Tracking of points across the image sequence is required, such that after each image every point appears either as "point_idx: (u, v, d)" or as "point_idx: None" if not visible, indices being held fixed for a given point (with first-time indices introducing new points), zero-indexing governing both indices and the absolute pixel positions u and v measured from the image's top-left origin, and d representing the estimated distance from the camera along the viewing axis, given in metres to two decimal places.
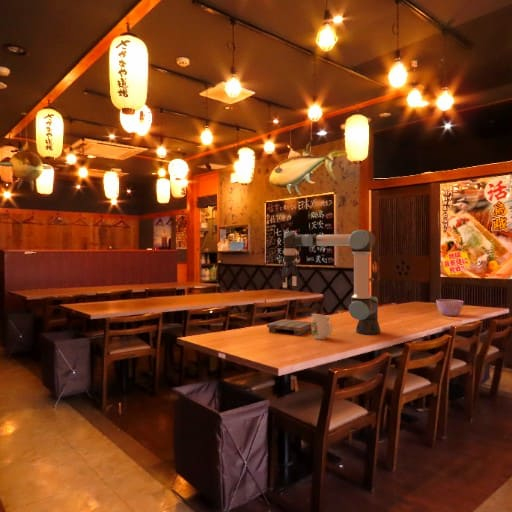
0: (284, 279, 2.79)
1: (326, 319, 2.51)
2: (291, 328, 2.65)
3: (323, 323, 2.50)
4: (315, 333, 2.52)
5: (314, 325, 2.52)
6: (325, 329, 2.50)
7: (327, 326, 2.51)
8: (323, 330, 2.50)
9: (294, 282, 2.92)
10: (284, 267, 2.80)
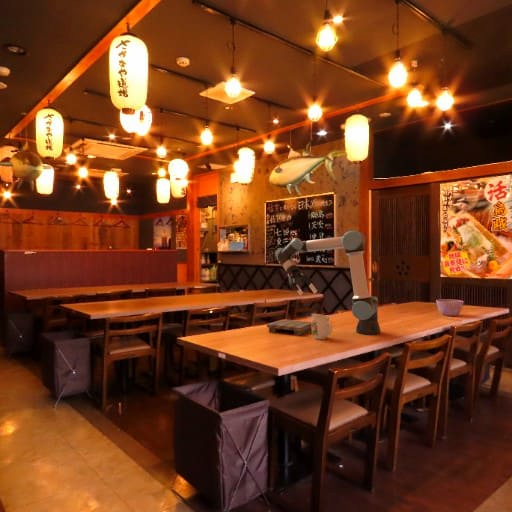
0: (295, 286, 2.63)
1: (326, 319, 2.51)
2: (291, 328, 2.65)
3: (323, 323, 2.50)
4: (315, 333, 2.52)
5: (314, 325, 2.52)
6: (325, 329, 2.50)
7: (327, 326, 2.51)
8: (323, 330, 2.50)
9: (313, 289, 2.72)
10: (289, 277, 2.68)
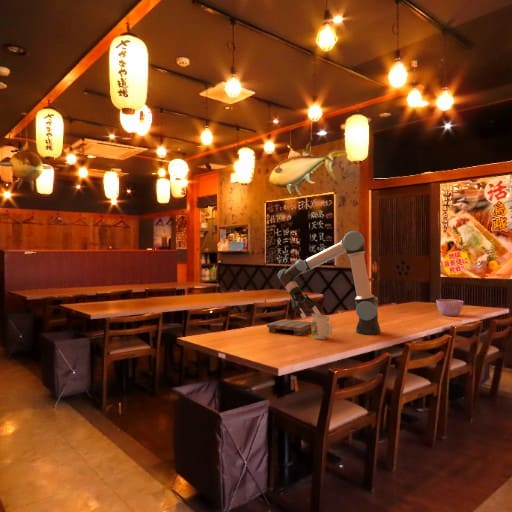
0: (298, 310, 2.56)
1: (326, 319, 2.51)
2: (291, 328, 2.65)
3: (323, 323, 2.50)
4: (315, 333, 2.52)
5: (314, 325, 2.52)
6: (325, 329, 2.50)
7: (327, 326, 2.51)
8: (323, 330, 2.50)
9: (317, 312, 2.64)
10: (292, 300, 2.60)
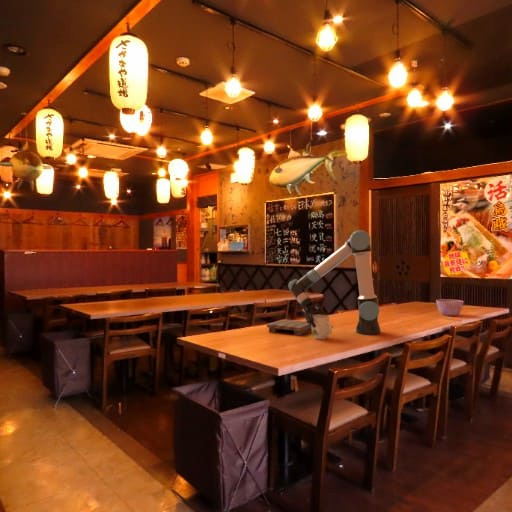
0: (313, 323, 2.50)
1: (326, 319, 2.51)
2: (291, 328, 2.65)
3: (323, 323, 2.50)
4: (315, 333, 2.52)
5: None
6: (325, 329, 2.50)
7: (327, 326, 2.51)
8: (323, 330, 2.50)
9: None
10: (305, 313, 2.54)
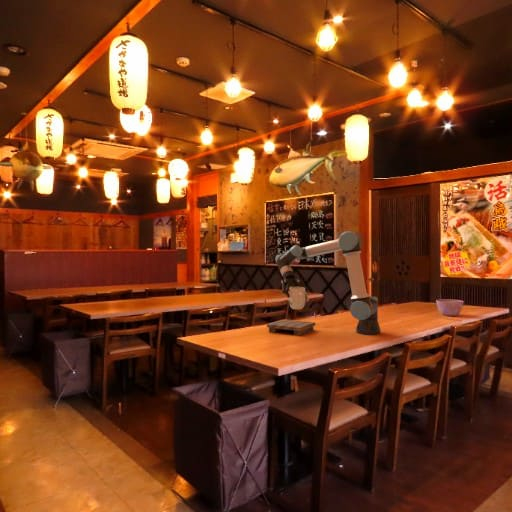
0: (287, 293, 2.66)
1: (300, 290, 2.65)
2: (291, 328, 2.65)
3: (297, 294, 2.65)
4: (290, 303, 2.67)
5: None
6: (298, 299, 2.64)
7: (301, 297, 2.65)
8: (296, 300, 2.64)
9: (306, 296, 2.70)
10: (282, 284, 2.71)
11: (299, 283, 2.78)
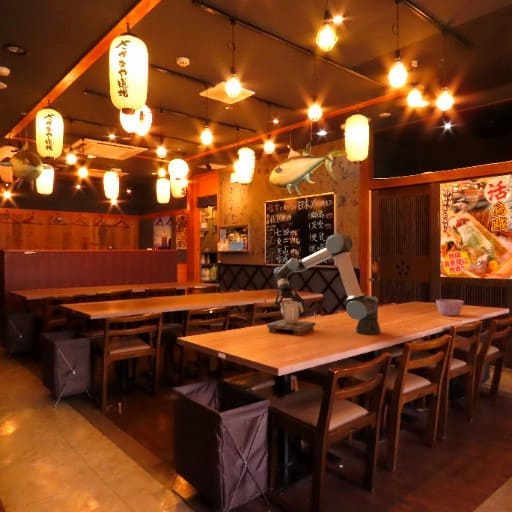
0: (278, 305, 2.76)
1: (292, 305, 2.73)
2: (291, 328, 2.65)
3: (289, 309, 2.73)
4: (283, 317, 2.77)
5: None
6: (291, 314, 2.73)
7: (293, 312, 2.73)
8: (289, 315, 2.73)
9: (300, 308, 2.79)
10: None
11: (295, 295, 2.86)
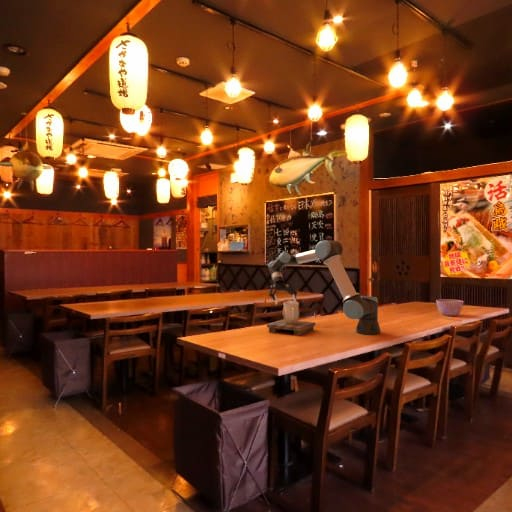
0: (272, 297, 2.89)
1: (293, 305, 2.74)
2: (291, 328, 2.65)
3: (289, 309, 2.74)
4: (284, 317, 2.77)
5: (283, 310, 2.77)
6: (291, 314, 2.73)
7: (293, 312, 2.73)
8: (289, 315, 2.73)
9: (294, 299, 2.92)
10: (271, 288, 2.95)
11: (288, 287, 3.00)
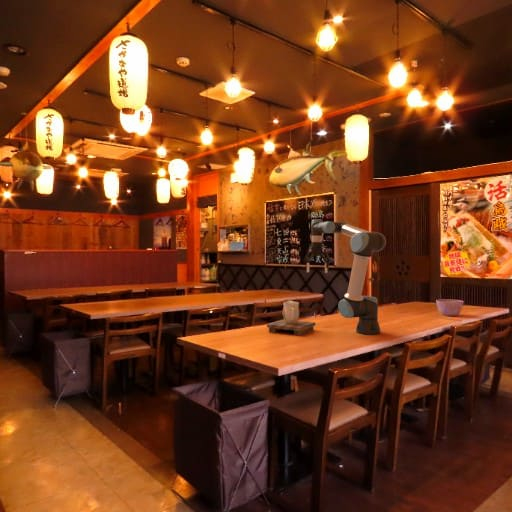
0: None
1: (293, 305, 2.74)
2: (291, 328, 2.65)
3: (289, 309, 2.74)
4: (284, 317, 2.77)
5: (283, 310, 2.77)
6: (291, 314, 2.73)
7: (293, 312, 2.73)
8: (289, 315, 2.73)
9: None
10: None
11: (325, 252, 2.93)
